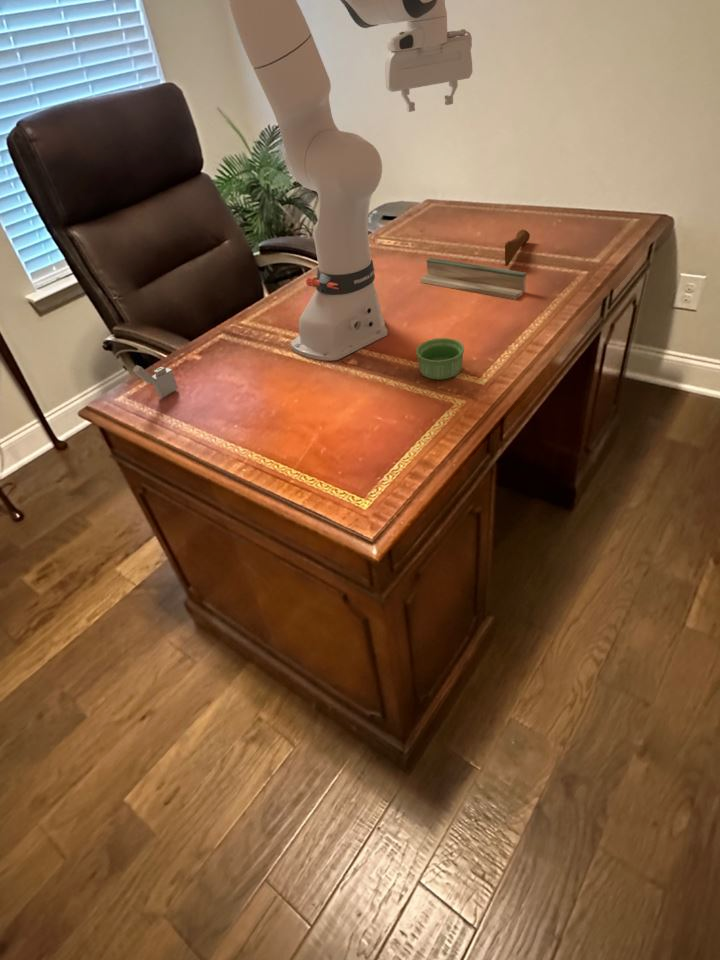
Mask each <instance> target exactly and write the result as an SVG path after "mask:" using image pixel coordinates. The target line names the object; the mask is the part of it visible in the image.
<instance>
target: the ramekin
mask: <svg viewBox="0 0 720 960" xmlns="http://www.w3.org/2000/svg"><path fill="white" fill-rule="evenodd" d="M415 354H416V357H417V360H418V366H419V367H418V368H419V371H420V373H421V374H422V376H424V377H425V378H428V379H432V380H446V379H451V378H453V377H455V376H456V375H458V374H459V373H460V372H461V371H462V368H463V359H464V357H463V356H464V354H465V346H464V344H463V343H462V342H460V341H459V340H457V339H454V338H448V337H438V338H432V339H429V340H426V341H424V342H422V343H420V344H419V345H418V346H417V348H416V351H415Z"/></svg>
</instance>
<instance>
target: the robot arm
mask: <svg viewBox="0 0 720 960" xmlns="http://www.w3.org/2000/svg"><path fill="white" fill-rule="evenodd" d="M445 1H446V0H340V2H341V3H342V4H343V6H344V7H345V8H346V10H347V12H348V13H349V16H350V17H351V19H352V20H353V21H354V23H355V24H356V25H357V26H359V27H360V28H363V29H368V28H373V27H376V26H379V25H388V24H389V25H390V24H395V23H396V24H398V23H400V22H402V23H403V22H406V28H405V29H403V30H401V31H400V32H398V33H396V34H395V35H393V36H391V37H390V38H388V39H387V41H386V45H387V50H389V52H388V54H386V57H385V64H384V80H385V81H384V82H385V83H384V84H385V87H386V89H387V90H388V91H389V92H392V93H394V92H395V93H396V92H399V91H400V93H401V97H402V99H403V100H404V102H405V103H406V111H407V112H408V113H411V112H415V111H416V105H415V104H416V103H415V102H414V101H411V99H410V98H409V95H410V89H416V88H422V87H428V86H434V85H439V84H444V83H448V86H449V87H450V88H449V91H448V94H447V95H444V105H445V106H450V105H454V95H455V94H456V91H457V88H458V82H459V81H461V80H467V79H470V78H471V76H472V74H473V61H472V60H473V59H472V51H471V50H472V46H473V45H472V42H473V41H472V40H473V39H472V34H471V33H470V32H469V31H466V29H459V30H451V31H448V11H447V8H446V2H445ZM228 4H229V8H230V11H231V13H232V18H233V21H234V24H235V27H236V29H237V30H236V31H237V33H238V36H239V38H240V41H241V44H242V46H243V49H244V51H245V53H246V56H247V58H248V61H249V63H250V65H251V67H252V69H253V71H254V73H255V75H256V77H257V80H258V82H259V84H260V86H261V89H262V90H263V92H264V95H265V96H266V99H267V101H268V103H269V106H270V107H271V110H272V112H273V115H274V116H275V119H276V122H277V125H278V129H279V132H280V136H281V139H282V144H283V147H284V162H285V166H286V169H287V170H288V171H287V172H288V173H289V174H290V175H291V177H293V178H294V180H295V181H296V182H297V183H299V184H300V185H301V186H302V187H304V188H305V189H307V190H311V191H314V192H316V194H317V196H318V218H317V222H316V223H315V225H314V227H313V230H312V231H313V233H312V234H313V240H314V247H315V251H316V252H315V253H316V258H317V263H318V264H317V265H318V267H317V272H316V276H311V275H309V276H306V279H305V285H306V286H308V287H312V288H315V291H314V292H313V295H312V296H311V298H310V299H309V302H308V303H307V305H306V306H305V309H304V310H303V312H302V314H301V315H300V317H299V320H298V329H299V330H298V331H299V335H298V336H296V337H295V338H294V339H293V340H291V342H290V348H291V349H292V350H293V352H295V353H297V354H298V355H300V356H303V357H306V358H309V359H314V360H318V361H338V360H340V359H342V358H344V357H346V356H348V355H350V354H352V353H354V352H356V351H358V350H361V349H363V348H364V347H366V346H368V345H371V344H372V343H374V342H376V341H378V340H381V339H382V338H384V337H386V336H388V334H389V333H388V328H387V327H386V322H385V319H384V317H383V313H382V307H381V303H380V299H379V295H378V292H377V289H376V286H375V284H374V283H375V282H374V280H375V277H376V276H375V275H376V274H375V271H376V270H375V267H374V261H373V260H372V258H371V250H370V249H371V248H370V239H369V228H368V227H369V226H368V225H369V224H368V222H369V211H370V204H371V199H372V195H373V194H374V192H375V191H376V190H377V188H378V187H379V184H380V182H381V179H382V173H383V164H382V163H383V162H382V158H381V155H380V153H379V151H378V149H377V148H376V147H375V146H374V144H371V142H369V141H368V140H367V139H365V138H363V137H362V136H360V135H359V134H357V133H353V132H348V131H347V132H346V131H343V130H342V131H341V130H340V129H339V128H338V126H337V125H336V124H335V122H334V121H335V120H334V118H333V115H332V110H331V103H330V93H331V89H332V88H331V87H332V86H331V81H330V77H329V75H328V72H327V70H326V66H325V65H324V61H323V59H322V57H321V54H320V52H319V50H318V49H319V48H318V47H317V45H316V42H315V39H314V37H313V34H312V32H311V29H310V27H309V24H308V23H307V20H306V18H305V16H304V14H303V11H302V9H301V7H300V5H299V3H298V2H297V0H228Z"/></svg>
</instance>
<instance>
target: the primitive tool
mask: <svg viewBox="0 0 720 960" xmlns="http://www.w3.org/2000/svg"><path fill="white" fill-rule="evenodd" d="M530 236H531V234H530V233H529V232H528V231H527V230H526V229H521V230H519V231H518V232H517V233H516V235H515V237H514V238H513V239H512V240H508V241H507V242H505V243H504V267H508V265H510V263H511V261H512V260H513V258H514V256H515V255H517V253H518V252H519V250H521V249H520V248H521V247H522V245H524V244H526V243H528V241H530Z"/></svg>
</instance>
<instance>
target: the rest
mask: <svg viewBox="0 0 720 960" xmlns="http://www.w3.org/2000/svg"><path fill="white" fill-rule="evenodd" d="M426 273H427V274H425V275H423V276H422V277H421V278H420V283H423V284H428V285H433V286H439V287H445V288H449V289H456V290H461V291H465V292H471V293H477V294H483V295H487V296H493V297H498V298H499V297H500V298H506V299H508V300H509V299H510V300H514V301H516V300H517V299H518V298H520V297H521V296H522V295H523V294H525V293H526V284H527V272H522V271H517V270H511V269H504V268H500V267H499V268H498V267H491V266H485V265H479V264H472V263H465V262H460V261H454V260H453V261H452V260H447V259H446V260H445V259H439V258H433V257H429V258H427V259H426Z"/></svg>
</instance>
